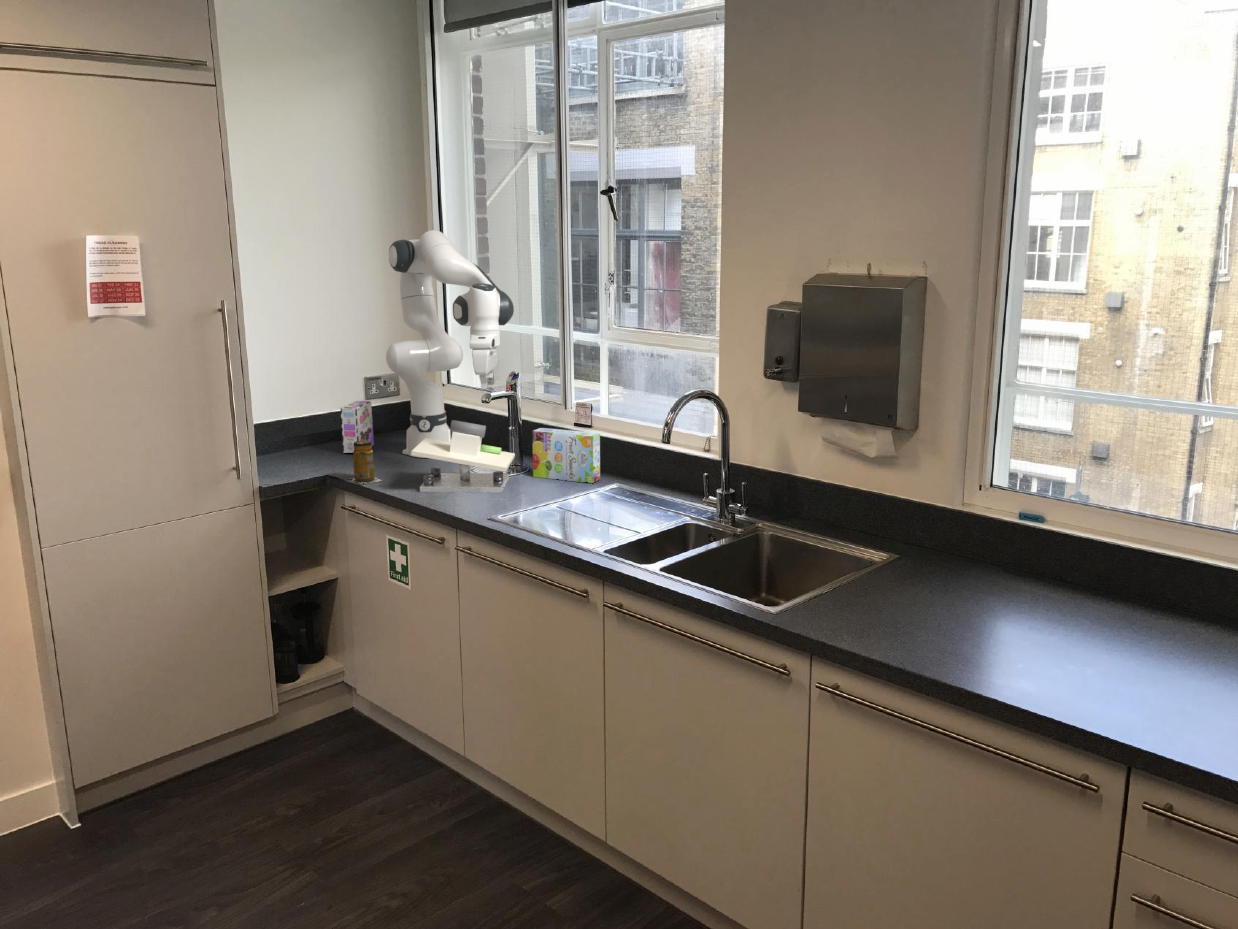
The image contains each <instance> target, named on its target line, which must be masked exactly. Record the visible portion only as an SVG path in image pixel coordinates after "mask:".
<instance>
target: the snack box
mask: <svg viewBox="0 0 1238 929" xmlns="http://www.w3.org/2000/svg"><path fill="white" fill-rule="evenodd" d="M531 434H532V476H533V477H534V478H539V479H547V480H548V479H549V480H556V479H559V481H565V480H567V481H566V482H577V483H583V482H588V483H587V484H592V483H593V484H595V483H597V482H599V481H600V480H601V433H600V432H592V431H582V430H580V431H579V430H572V429H571V430H570V429H568V430H567V429H558V428H547V427H539V428H537V429H534V430H532V432H531ZM599 479H600V480H599ZM598 480H599V481H598ZM594 482H595V483H594Z"/></svg>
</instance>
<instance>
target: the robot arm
mask: <svg viewBox="0 0 1238 929" xmlns="http://www.w3.org/2000/svg"><path fill="white" fill-rule="evenodd" d="M388 262H389V264H390V267H391V268H392V269H393V270H394V271H395V272H398V273H400V277H399V278H400V279H399V280H400V281H399V292H400V302H401V310H402V318H403V323H405V325H406V326H407V327H408V328H410V329H412V330H415V331H417V332H418V333H419V334H420V336H422V338H423V339H414V340H413V339H412V340H402V341H398V342H394V343H391V344H390V346H389V347H388V348H387V351H386V353H385V360H386V365H387V366H388V368H389V369H390V370H391V372H393V373H395V374H396V375H397V376H399V377H400V379H402V380H403V381H404V383H405V385H406V387H407V390H408V393H409V399H410V401H409V402H410V411H411V412H410V413H409V421H410V426H409V427H408V428H407V429H406V448H405V449H402V454H403V455H408V456H410V457H414V458H423V459H425V457H420V456H414V455H411V452H412V450H413V449H414V448H415V447H416V446H417V445H419V444H420V443H421V442H422V441H423V440H424V439H425V438H430V439H435V440H441V441H447V442H451V439H452V432H450V427H449V425H448V424H447V415H446V413H447V411H446V410H445V401H444V398H445V397H444V391H443V389H442V387H441V386H440V385H438V384H436V383H435V382H432V381H429V380H427V377H426V373H435V372H446V371H451V370H453V369H457V368H459V367H460V365H461V364H462V361H463V360H464V359H463V358H464V351H463V348H462V345H461V344H460V343H459V342H458V341H457V340H456V339H455V338H453V337H452V336H451V335H449V334H448V333H447V332H446V331H445V329H444V327H443V326H442V325H441V323H440V320H439V317H438V311H437V306H436V299H435V293H434V286H433V278H434V279H435V280H436V281H438V282H440V283H442V284H446V285H454V286H455V285H456V286H463V287H468V288H469V290H468V291H467V292H465V293H464V294H461V295H458V296H457V297H456V298H455V300H453V303H452V315H453V319H454V320H455V321H456V322H457V324H459V325H460V326H464V327H469V328H470V329H469V337H470V338H469V339H470V340H469V349H470V350H471V357H472V366H473V372H474V374H475V375H476V376H479V380H480V387H481V389H487V388H488V387H489V384H490V385H492V384H493V383H494V372H495V371H494V369H495V368H496V367H497V366H498V363H499V362H498V348H497V347H498V346H500V345H501V326H505V325H506V324H508V323H509V322H510V320H511V319H512V318H513V316H514V311H515V309H514V308H515V306H514V303H513V300H512V299H511V298H510V296H509V295H508V294H507V293H506V292H505V291H503V290H501V289H500V288H499V287H498V286H497V285H496V284H495V283H494V282H493V280H492V279H491V278H490V277H489V276H488V275H487V274H486V273H485V271H484V270H482V268H481V267H480V266H478V265H477V264H475V263H473V262H472V261H470V260H468V259H467V258H466V257H464V255H462V254H461V253H460V252H459V251H458V249H457V248H456V247H455V245H454V244H453V242H452V241H451V240H450V238H449V237H447V236H446V234H444V233H443V232H442V231H439V230H435V229H432V230H431V229H430V230H428V231H426V232H424V233H422V235H421V236H420V237H419V239H415V238H414V239H399V240H395V241H394V242H392V244H391V245H390V246H389V250H388Z"/></svg>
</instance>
